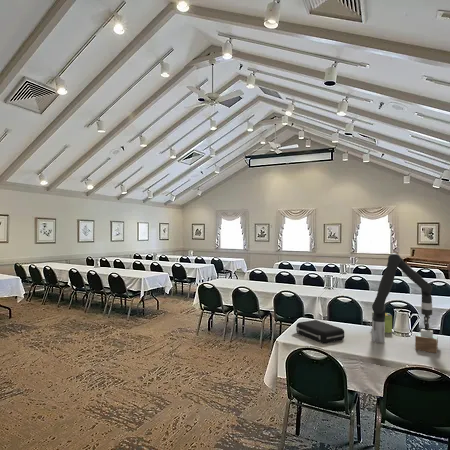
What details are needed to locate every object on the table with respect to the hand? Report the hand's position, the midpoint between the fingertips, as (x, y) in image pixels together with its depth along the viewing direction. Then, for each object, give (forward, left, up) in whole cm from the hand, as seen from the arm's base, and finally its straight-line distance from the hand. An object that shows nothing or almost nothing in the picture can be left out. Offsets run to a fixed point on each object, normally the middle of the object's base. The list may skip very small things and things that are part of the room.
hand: (426, 329), depth 277 cm
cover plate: (0, 0, -7) cm, 7 cm away
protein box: (-10, +49, -15) cm, 52 cm away
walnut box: (-1, 0, -15) cm, 15 cm away
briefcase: (-71, +37, -16) cm, 81 cm away
